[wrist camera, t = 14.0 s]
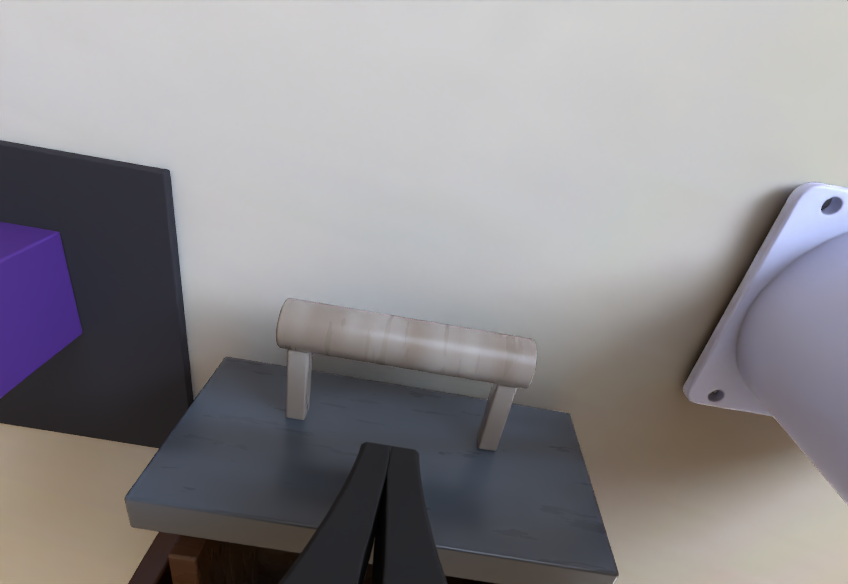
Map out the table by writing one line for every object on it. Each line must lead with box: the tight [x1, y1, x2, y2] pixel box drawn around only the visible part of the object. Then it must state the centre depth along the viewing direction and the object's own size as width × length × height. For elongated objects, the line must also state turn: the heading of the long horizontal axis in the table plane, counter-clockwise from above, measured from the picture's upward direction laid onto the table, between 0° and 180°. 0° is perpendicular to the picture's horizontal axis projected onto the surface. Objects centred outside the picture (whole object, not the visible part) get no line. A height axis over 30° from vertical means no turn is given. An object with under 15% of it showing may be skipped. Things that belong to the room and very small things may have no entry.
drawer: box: [125, 298, 619, 584], centre depth 16 cm, size 18×12×6 cm
